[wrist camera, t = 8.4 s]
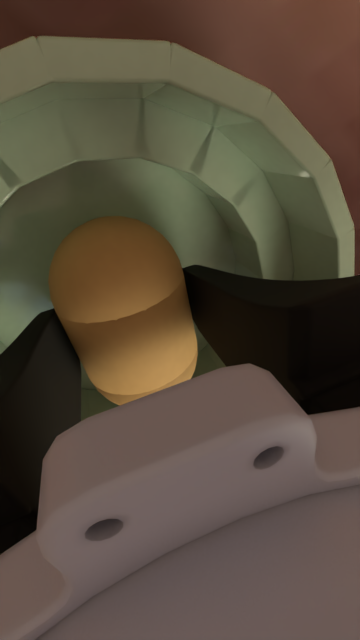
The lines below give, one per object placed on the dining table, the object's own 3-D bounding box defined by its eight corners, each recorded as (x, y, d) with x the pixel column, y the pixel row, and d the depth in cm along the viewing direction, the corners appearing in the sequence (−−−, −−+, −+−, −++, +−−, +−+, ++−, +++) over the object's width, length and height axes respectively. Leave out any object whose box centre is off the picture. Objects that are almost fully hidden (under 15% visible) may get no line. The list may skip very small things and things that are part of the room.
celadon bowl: (312, 161, 13) (441, 171, 8) (212, 404, 19) (256, 486, 14) (-113, -6, 7) (-402, -241, 3) (-62, 412, 13) (-130, 549, 9)
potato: (29, 223, 10) (10, 266, 7) (149, 191, 11) (191, 213, 7) (100, 375, 14) (112, 452, 11) (185, 344, 15) (222, 406, 11)
